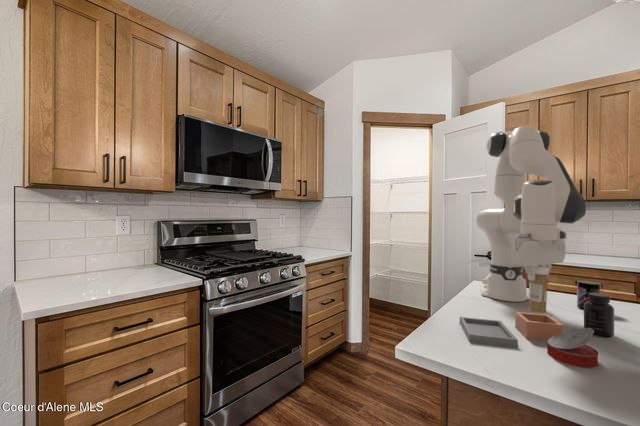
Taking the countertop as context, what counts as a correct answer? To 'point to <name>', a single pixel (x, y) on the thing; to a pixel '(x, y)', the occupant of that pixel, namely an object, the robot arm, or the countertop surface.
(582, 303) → the supplement container
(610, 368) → the countertop surface
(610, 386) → the countertop surface
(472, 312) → the countertop surface
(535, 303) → the sprinkles bottle
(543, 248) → the robot arm
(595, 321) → the supplement bottle
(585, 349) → the canned food
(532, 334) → the terracotta holder
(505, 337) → the charcoal tray
